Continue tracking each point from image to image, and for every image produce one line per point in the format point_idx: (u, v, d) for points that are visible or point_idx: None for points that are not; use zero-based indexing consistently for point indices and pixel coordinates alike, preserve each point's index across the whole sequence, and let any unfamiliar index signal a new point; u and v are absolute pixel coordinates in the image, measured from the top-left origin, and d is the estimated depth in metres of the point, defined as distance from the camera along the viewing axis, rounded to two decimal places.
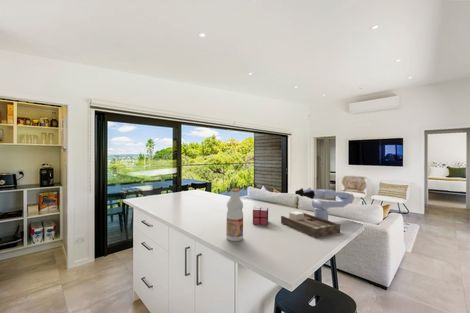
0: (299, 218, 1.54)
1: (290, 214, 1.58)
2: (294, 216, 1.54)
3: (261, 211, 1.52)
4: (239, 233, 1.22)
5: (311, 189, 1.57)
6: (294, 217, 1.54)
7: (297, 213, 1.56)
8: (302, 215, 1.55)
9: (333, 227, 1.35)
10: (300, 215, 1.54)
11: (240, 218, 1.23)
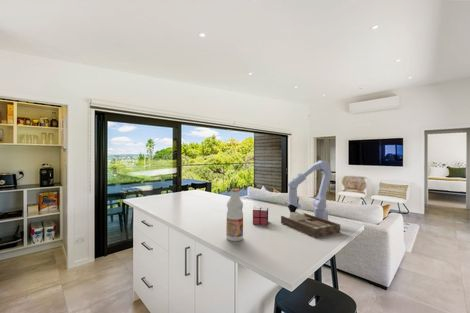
0: (300, 218, 1.53)
1: (291, 214, 1.57)
2: (295, 217, 1.53)
3: (261, 211, 1.52)
4: (239, 233, 1.22)
5: (289, 201, 1.60)
6: (295, 217, 1.53)
7: (298, 213, 1.55)
8: (303, 215, 1.54)
9: (333, 227, 1.35)
10: (301, 215, 1.53)
11: (240, 218, 1.23)
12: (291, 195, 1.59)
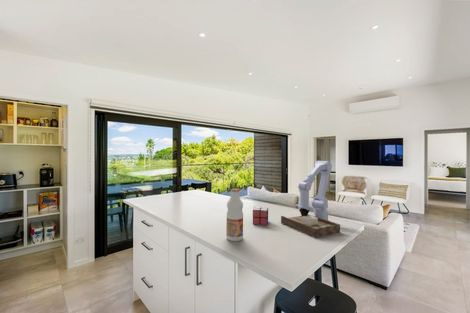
0: (313, 223, 1.43)
1: (303, 219, 1.47)
2: (307, 221, 1.43)
3: (261, 211, 1.52)
4: (239, 233, 1.22)
5: (301, 204, 1.49)
6: (307, 222, 1.43)
7: (310, 218, 1.45)
8: (316, 220, 1.44)
9: (333, 227, 1.35)
10: (314, 220, 1.43)
11: (240, 218, 1.23)
12: (306, 198, 1.48)
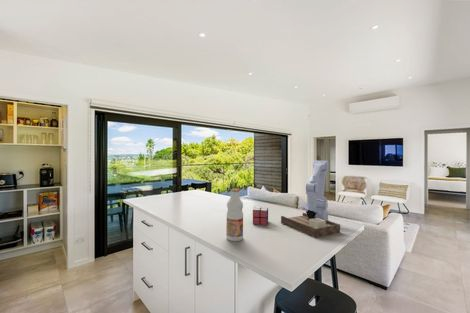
0: (320, 226, 1.37)
1: (310, 221, 1.41)
2: (315, 224, 1.37)
3: (261, 211, 1.52)
4: (239, 233, 1.22)
5: (308, 206, 1.44)
6: (315, 225, 1.37)
7: (318, 220, 1.39)
8: (324, 222, 1.38)
9: (333, 227, 1.35)
10: (321, 222, 1.38)
11: (240, 218, 1.23)
12: (314, 200, 1.42)
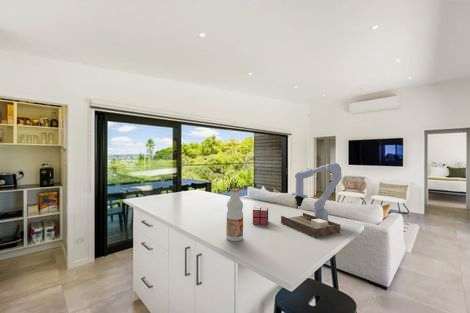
0: None
1: (312, 222, 1.40)
2: (317, 225, 1.36)
3: (261, 211, 1.52)
4: (239, 233, 1.22)
5: (296, 192, 1.66)
6: (317, 225, 1.36)
7: (320, 221, 1.37)
8: (326, 223, 1.37)
9: (333, 227, 1.35)
10: (324, 223, 1.36)
11: (240, 218, 1.23)
12: (296, 186, 1.66)
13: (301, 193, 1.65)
